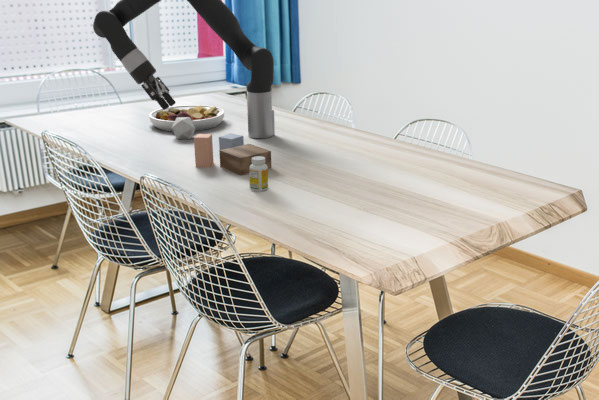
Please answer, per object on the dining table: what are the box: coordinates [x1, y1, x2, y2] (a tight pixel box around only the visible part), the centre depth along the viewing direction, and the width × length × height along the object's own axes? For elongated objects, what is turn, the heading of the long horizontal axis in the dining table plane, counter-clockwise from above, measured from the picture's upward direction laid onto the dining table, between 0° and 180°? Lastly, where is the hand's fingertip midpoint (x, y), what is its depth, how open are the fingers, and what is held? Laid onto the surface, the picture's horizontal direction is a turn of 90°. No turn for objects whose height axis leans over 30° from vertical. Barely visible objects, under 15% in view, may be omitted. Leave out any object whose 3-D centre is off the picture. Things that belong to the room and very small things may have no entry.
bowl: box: [148, 104, 225, 132], centre depth 289 cm, size 30×30×8 cm
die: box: [172, 117, 196, 140], centre depth 268 cm, size 8×9×10 cm
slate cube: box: [218, 132, 245, 150], centre depth 248 cm, size 6×6×6 cm
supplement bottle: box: [249, 156, 269, 193], centre depth 210 cm, size 5×5×10 cm
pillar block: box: [193, 133, 214, 168], centre depth 234 cm, size 5×5×10 cm
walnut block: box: [218, 143, 272, 176], centre depth 231 cm, size 12×12×6 cm
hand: (170, 106), depth 232 cm, fingers open, 8 cm apart
